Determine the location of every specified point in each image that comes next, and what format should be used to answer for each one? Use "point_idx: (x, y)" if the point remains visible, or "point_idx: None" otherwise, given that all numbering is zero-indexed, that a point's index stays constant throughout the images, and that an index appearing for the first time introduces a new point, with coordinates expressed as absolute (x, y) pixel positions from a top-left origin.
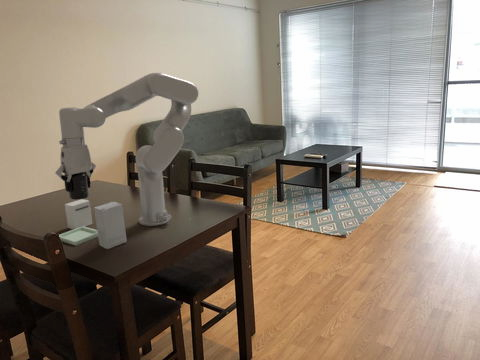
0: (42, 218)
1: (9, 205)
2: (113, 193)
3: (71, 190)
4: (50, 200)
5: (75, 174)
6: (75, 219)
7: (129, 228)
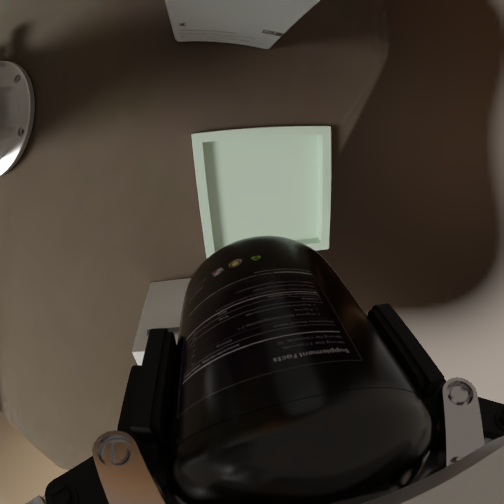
0: None
1: None
2: (35, 416)
3: (390, 311)
4: None
5: (406, 477)
6: None
7: (79, 112)
